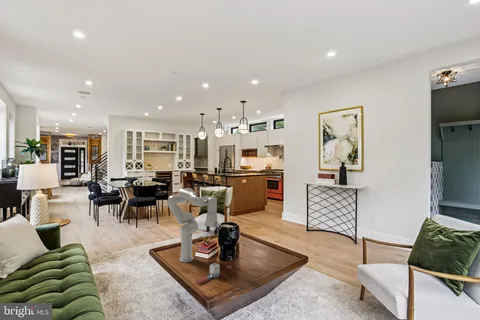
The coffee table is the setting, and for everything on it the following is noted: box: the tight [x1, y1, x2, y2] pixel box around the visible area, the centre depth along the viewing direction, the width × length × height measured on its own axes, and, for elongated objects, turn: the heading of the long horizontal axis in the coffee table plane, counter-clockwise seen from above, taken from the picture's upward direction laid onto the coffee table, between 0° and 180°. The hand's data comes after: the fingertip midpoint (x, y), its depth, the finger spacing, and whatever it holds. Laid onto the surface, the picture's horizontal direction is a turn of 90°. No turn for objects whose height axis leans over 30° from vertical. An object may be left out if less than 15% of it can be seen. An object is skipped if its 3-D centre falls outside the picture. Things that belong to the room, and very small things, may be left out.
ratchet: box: [195, 265, 220, 286], centre depth 186 cm, size 7×20×8 cm, turn 137°
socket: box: [209, 262, 221, 275], centre depth 190 cm, size 5×5×6 cm
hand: (211, 233), depth 206 cm, fingers open, 9 cm apart
